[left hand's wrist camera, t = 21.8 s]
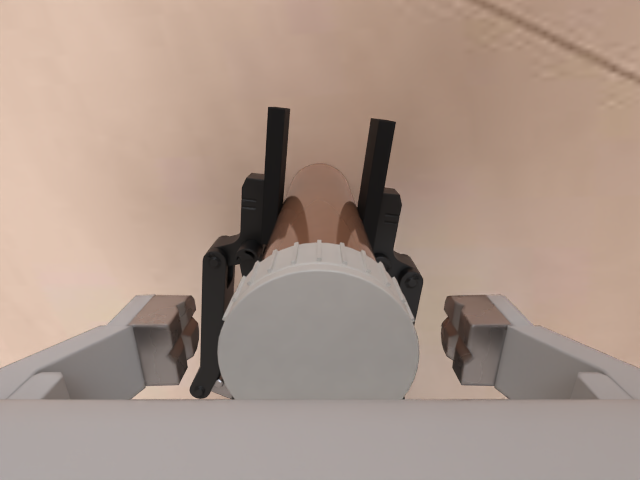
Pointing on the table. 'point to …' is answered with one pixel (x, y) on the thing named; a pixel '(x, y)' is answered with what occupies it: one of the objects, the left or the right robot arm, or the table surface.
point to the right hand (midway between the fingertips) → (331, 115)
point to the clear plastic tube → (319, 213)
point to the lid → (318, 328)
